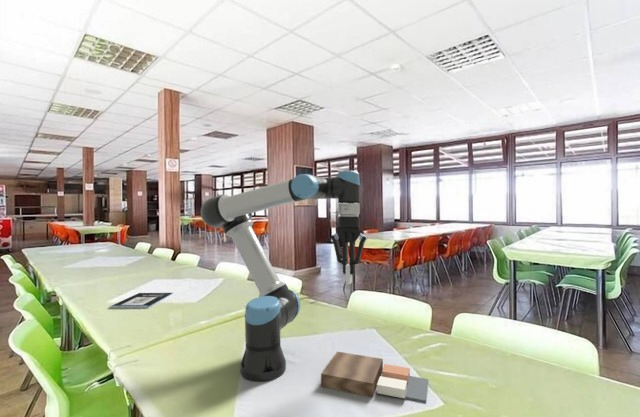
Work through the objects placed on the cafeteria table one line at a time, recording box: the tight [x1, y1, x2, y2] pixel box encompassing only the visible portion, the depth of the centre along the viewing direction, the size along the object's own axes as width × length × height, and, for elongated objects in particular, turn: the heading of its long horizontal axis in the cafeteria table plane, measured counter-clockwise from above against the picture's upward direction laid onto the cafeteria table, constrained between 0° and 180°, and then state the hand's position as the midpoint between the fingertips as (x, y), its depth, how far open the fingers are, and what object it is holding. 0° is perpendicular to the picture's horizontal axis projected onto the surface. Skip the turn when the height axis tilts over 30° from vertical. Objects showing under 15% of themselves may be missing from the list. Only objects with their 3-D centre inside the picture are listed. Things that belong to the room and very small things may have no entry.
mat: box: [375, 375, 429, 403], centre depth 100 cm, size 14×12×1 cm
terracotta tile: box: [381, 363, 411, 384], centre depth 104 cm, size 8×5×2 cm, turn 69°
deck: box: [320, 351, 384, 398], centre depth 105 cm, size 16×16×4 cm
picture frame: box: [108, 292, 174, 310], centre depth 192 cm, size 22×30×2 cm
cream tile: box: [376, 375, 407, 399], centre depth 97 cm, size 8×5×2 cm, turn 69°
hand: (348, 283), depth 115 cm, fingers closed
